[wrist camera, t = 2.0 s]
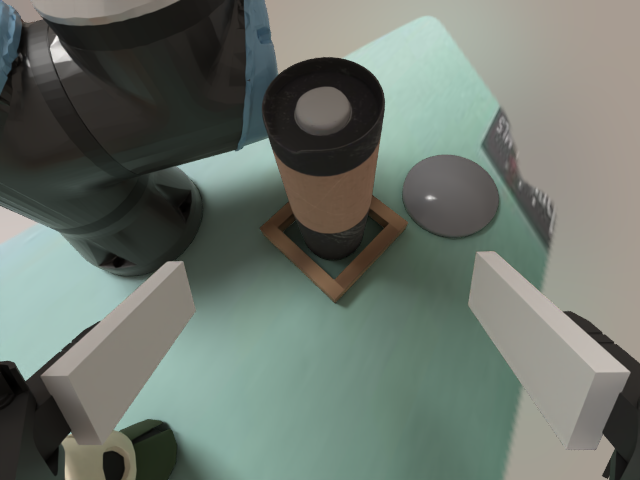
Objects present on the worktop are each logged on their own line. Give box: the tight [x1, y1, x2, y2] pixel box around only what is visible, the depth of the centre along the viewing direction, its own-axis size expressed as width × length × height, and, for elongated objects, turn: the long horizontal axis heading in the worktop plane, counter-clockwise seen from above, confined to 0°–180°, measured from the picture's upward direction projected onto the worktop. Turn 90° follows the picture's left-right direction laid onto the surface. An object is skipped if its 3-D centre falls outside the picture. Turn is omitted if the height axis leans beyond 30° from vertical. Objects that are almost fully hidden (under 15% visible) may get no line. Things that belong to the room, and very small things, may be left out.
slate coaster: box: [402, 155, 499, 238], centre depth 37 cm, size 11×11×1 cm
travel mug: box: [262, 57, 385, 260], centre depth 27 cm, size 8×8×20 cm
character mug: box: [62, 419, 177, 480], centre depth 24 cm, size 11×7×13 cm, turn 58°
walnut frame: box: [259, 195, 408, 303], centre depth 36 cm, size 12×12×2 cm
